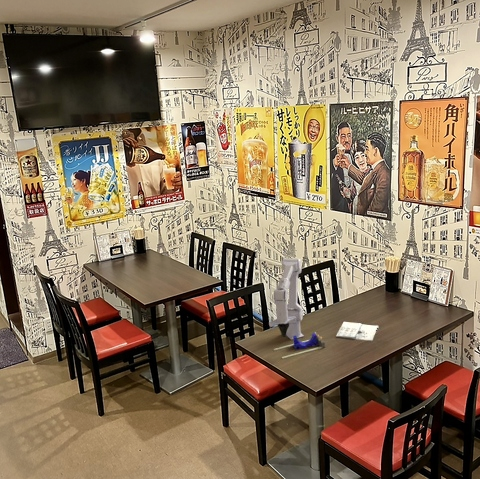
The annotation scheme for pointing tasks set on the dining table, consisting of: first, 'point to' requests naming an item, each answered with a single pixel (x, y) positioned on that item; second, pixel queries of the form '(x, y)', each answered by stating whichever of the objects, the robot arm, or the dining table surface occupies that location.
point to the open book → (352, 329)
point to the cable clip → (305, 344)
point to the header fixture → (319, 342)
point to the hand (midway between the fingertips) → (283, 336)
